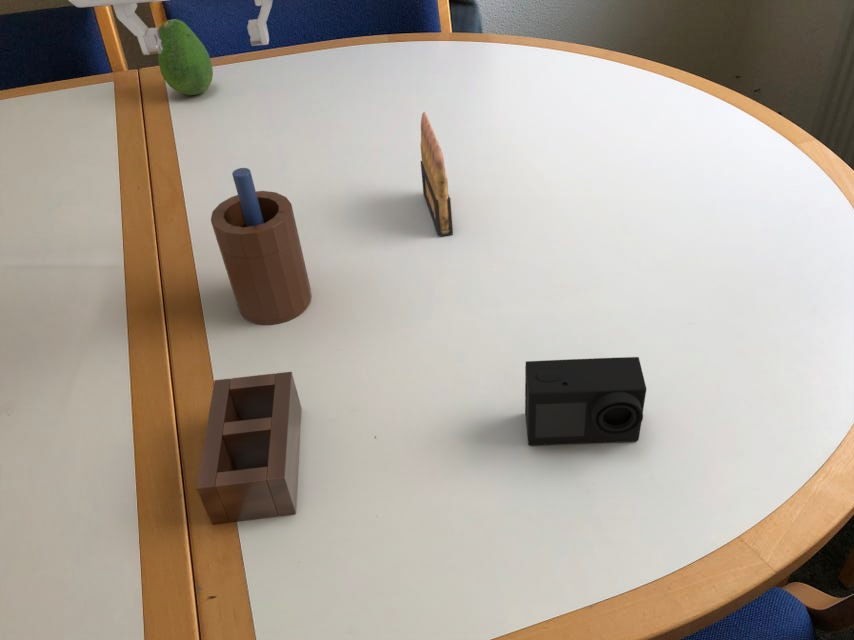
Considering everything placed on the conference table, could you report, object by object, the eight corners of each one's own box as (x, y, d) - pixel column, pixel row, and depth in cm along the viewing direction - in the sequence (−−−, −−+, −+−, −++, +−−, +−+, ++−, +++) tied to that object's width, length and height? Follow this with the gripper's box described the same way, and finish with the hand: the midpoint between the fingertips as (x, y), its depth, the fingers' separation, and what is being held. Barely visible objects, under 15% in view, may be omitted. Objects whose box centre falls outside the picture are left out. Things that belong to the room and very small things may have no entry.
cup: (235, 328, 87) (206, 237, 79) (242, 283, 93) (216, 194, 85) (310, 320, 88) (289, 229, 80) (312, 276, 94) (292, 187, 86)
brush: (259, 307, 89) (223, 181, 78) (261, 290, 91) (226, 165, 81) (288, 304, 89) (256, 178, 78) (289, 287, 92) (258, 162, 81)
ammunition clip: (423, 194, 107) (415, 109, 99) (436, 191, 107) (429, 107, 99) (438, 237, 99) (431, 149, 91) (453, 234, 99) (447, 147, 91)
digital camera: (527, 456, 73) (528, 403, 68) (524, 412, 77) (524, 360, 72) (641, 451, 73) (649, 398, 68) (631, 408, 77) (639, 355, 72)
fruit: (210, 104, 129) (189, 29, 121) (163, 105, 130) (139, 30, 122) (224, 83, 135) (205, 11, 127) (178, 84, 136) (156, 12, 128)
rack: (212, 524, 68) (195, 488, 65) (227, 416, 78) (214, 379, 74) (296, 514, 69) (284, 478, 65) (301, 407, 78) (291, 371, 75)
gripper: (296, -149, 65) (324, 24, 74) (37, -131, 63) (100, 43, 73) (292, -131, 60) (323, 51, 69) (13, -112, 58) (83, 71, 68)
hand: (207, 47), depth 71 cm, fingers open, 8 cm apart
